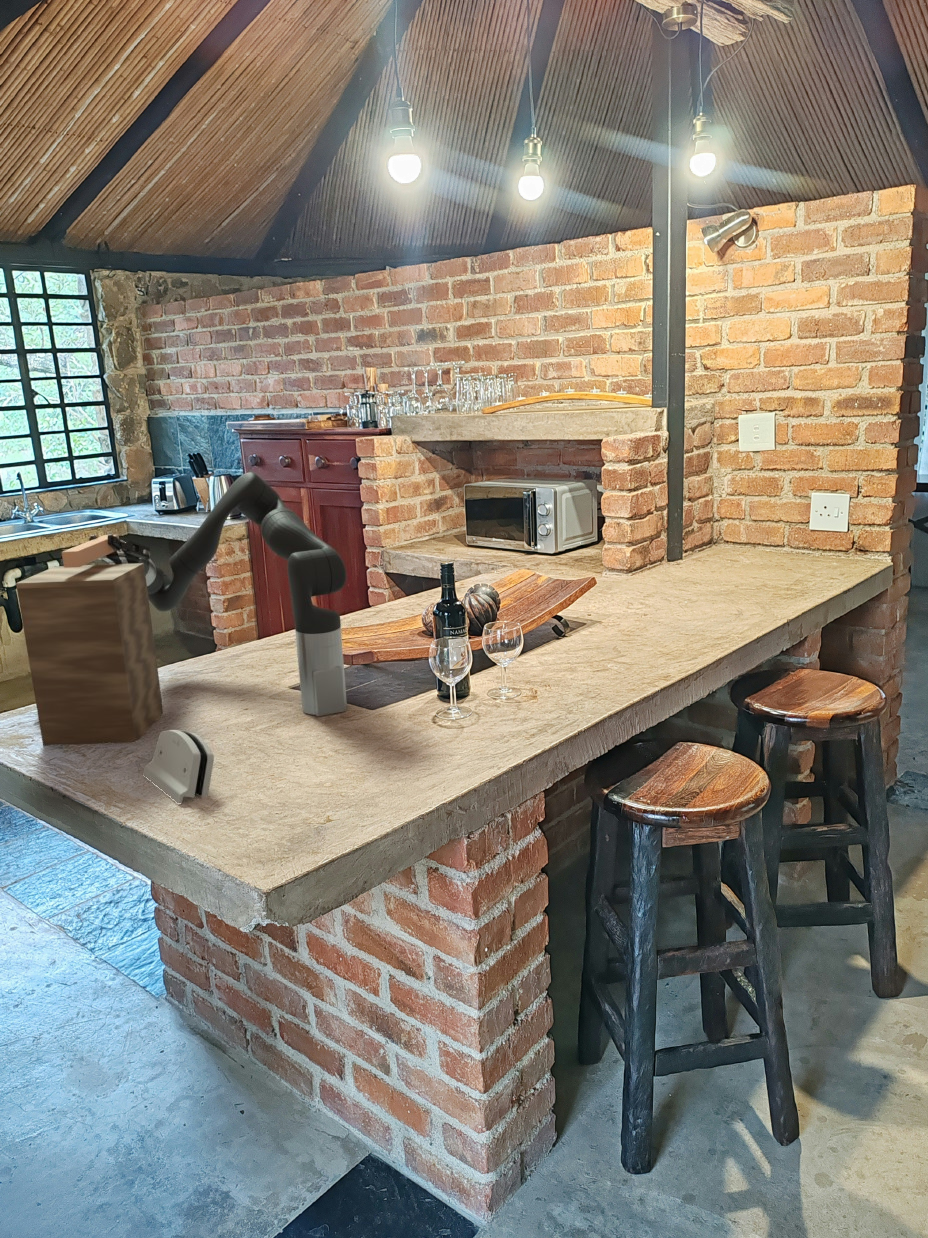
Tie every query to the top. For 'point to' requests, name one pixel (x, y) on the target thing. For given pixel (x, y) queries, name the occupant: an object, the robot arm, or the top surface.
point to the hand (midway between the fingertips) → (100, 539)
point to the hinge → (181, 765)
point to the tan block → (87, 552)
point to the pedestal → (91, 653)
